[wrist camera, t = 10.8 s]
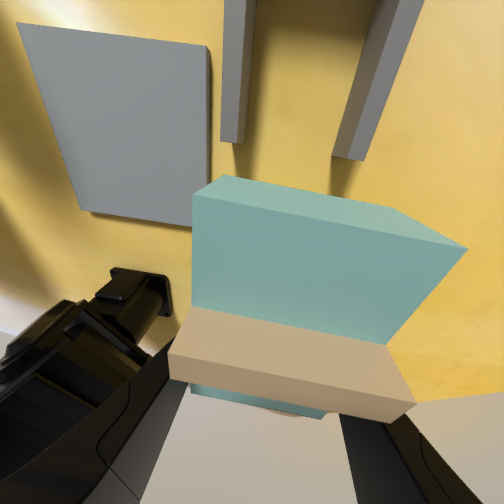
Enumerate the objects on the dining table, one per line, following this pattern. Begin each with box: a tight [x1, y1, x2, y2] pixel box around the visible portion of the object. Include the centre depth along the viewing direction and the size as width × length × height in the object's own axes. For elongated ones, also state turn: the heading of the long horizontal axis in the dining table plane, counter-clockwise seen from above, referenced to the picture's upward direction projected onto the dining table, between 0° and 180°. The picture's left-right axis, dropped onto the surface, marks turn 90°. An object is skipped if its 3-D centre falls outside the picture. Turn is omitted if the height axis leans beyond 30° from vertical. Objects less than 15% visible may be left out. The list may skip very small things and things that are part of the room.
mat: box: [16, 22, 210, 227], centre depth 15 cm, size 12×12×1 cm
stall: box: [220, 0, 424, 161], centre depth 10 cm, size 11×9×4 cm
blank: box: [168, 175, 468, 423], centre depth 7 cm, size 9×6×4 cm, turn 169°
